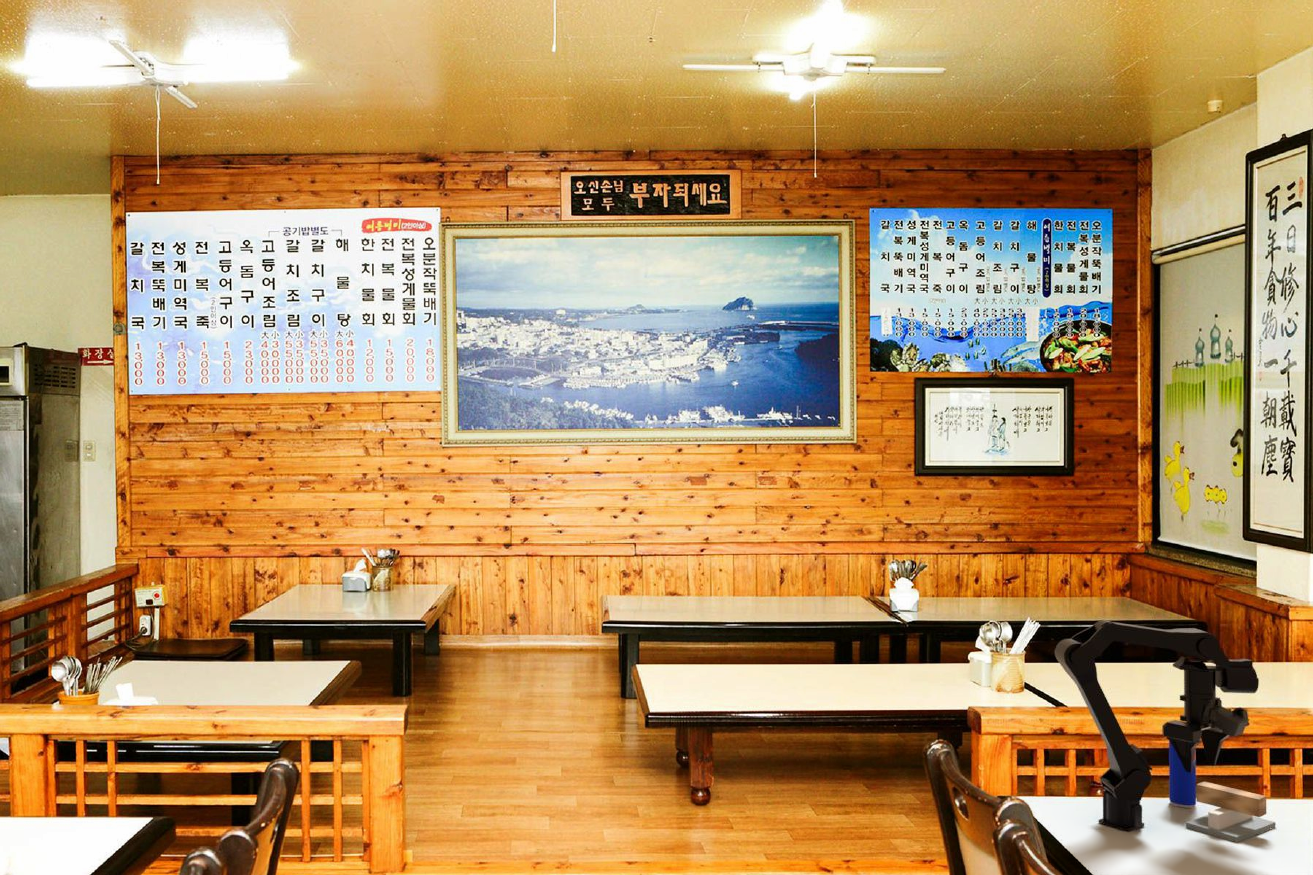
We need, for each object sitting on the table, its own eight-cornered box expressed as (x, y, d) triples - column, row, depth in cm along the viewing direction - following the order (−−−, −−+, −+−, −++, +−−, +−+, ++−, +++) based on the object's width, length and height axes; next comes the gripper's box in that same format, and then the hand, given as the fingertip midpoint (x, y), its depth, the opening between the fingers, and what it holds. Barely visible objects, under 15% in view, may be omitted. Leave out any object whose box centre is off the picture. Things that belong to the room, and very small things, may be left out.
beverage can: (1199, 809, 216) (1198, 739, 216) (1173, 807, 217) (1173, 737, 217) (1191, 801, 221) (1191, 733, 221) (1166, 799, 222) (1165, 731, 222)
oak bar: (1196, 801, 208) (1196, 784, 208) (1204, 798, 210) (1204, 781, 211) (1259, 817, 199) (1258, 799, 199) (1266, 813, 201) (1266, 796, 201)
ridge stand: (1185, 827, 204) (1185, 807, 204) (1225, 813, 213) (1224, 794, 213) (1236, 842, 196) (1236, 821, 196) (1275, 826, 205) (1275, 807, 205)
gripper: (1217, 704, 193) (1218, 786, 192) (1263, 693, 203) (1264, 771, 203) (1160, 693, 202) (1161, 771, 201) (1207, 684, 213) (1208, 758, 212)
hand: (1200, 768), depth 204 cm, fingers open, 9 cm apart
